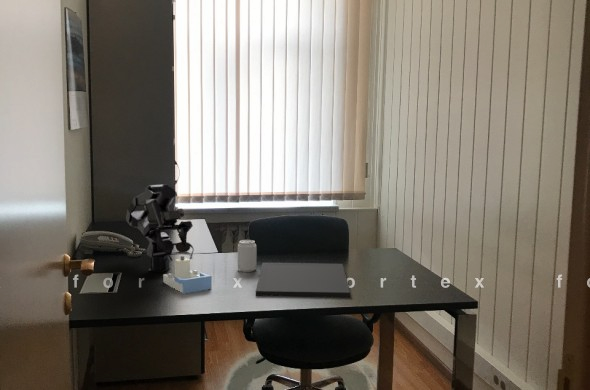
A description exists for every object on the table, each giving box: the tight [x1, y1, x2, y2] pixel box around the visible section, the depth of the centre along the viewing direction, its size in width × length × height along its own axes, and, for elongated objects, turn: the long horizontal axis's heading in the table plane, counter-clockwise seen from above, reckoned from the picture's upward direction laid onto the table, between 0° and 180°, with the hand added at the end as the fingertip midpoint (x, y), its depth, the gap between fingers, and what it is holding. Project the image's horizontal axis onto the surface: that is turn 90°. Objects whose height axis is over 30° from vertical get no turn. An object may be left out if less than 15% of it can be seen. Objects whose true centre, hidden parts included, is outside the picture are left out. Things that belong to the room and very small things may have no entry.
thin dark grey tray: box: [255, 262, 351, 299], centre depth 239 cm, size 40×2×33 cm
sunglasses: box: [168, 241, 195, 261], centre depth 276 cm, size 14×16×5 cm
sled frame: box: [162, 269, 213, 295], centre depth 230 cm, size 18×11×5 cm, turn 35°
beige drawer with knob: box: [174, 255, 191, 279], centre depth 233 cm, size 4×4×10 cm
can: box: [237, 239, 257, 273], centre depth 253 cm, size 8×8×12 cm
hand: (174, 247), depth 239 cm, fingers open, 9 cm apart
